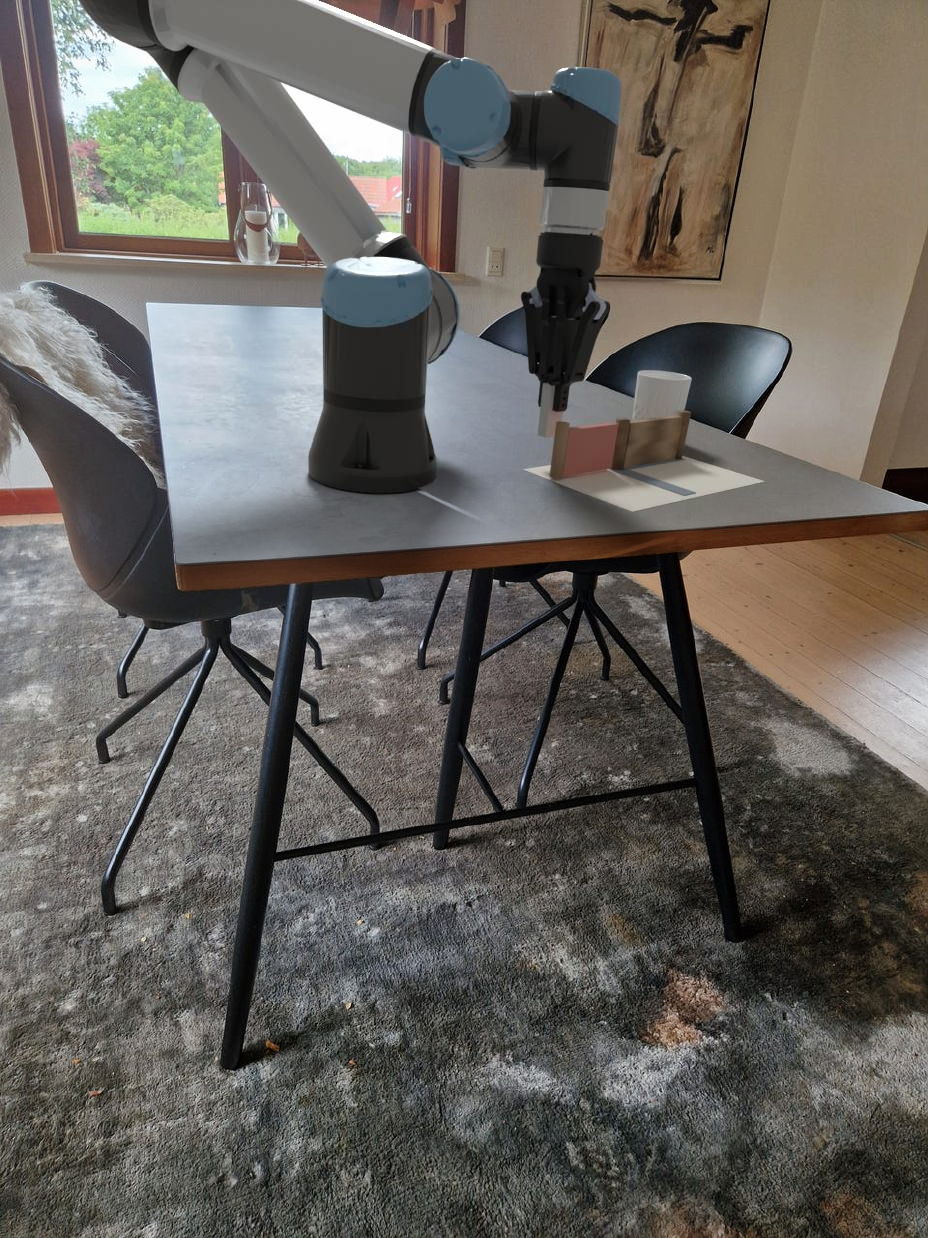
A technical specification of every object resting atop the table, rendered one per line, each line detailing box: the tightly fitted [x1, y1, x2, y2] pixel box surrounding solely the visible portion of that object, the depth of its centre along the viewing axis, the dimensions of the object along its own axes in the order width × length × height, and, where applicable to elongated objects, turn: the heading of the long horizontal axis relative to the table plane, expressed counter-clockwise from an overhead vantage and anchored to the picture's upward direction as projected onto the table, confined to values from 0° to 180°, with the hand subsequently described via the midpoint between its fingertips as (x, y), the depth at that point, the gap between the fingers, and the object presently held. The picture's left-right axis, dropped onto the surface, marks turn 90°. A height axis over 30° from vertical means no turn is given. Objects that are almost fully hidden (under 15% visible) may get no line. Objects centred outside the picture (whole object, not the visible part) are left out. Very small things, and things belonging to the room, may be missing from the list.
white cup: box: [631, 369, 693, 421], centre depth 119 cm, size 8×8×10 cm
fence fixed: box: [611, 410, 692, 470], centre depth 106 cm, size 15×2×6 cm, turn 129°
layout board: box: [522, 455, 766, 513], centre depth 102 cm, size 27×18×1 cm, turn 129°
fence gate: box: [549, 421, 619, 479], centre depth 98 cm, size 10×2×7 cm, turn 129°
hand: (549, 435), depth 101 cm, fingers closed
